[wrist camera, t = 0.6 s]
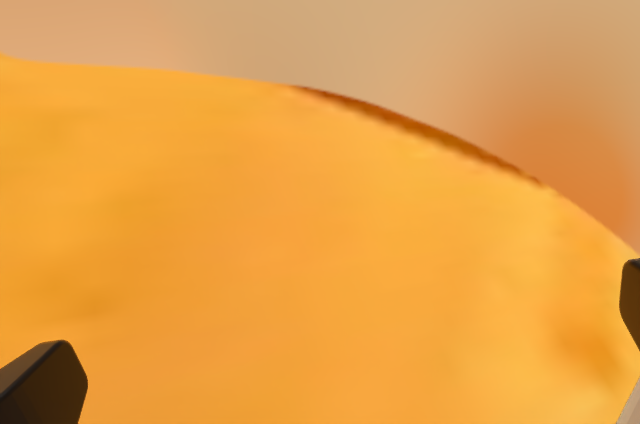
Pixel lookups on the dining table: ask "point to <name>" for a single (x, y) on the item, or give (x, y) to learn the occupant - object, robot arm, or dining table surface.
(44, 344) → the robot arm
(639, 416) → the track
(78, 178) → the dining table surface
